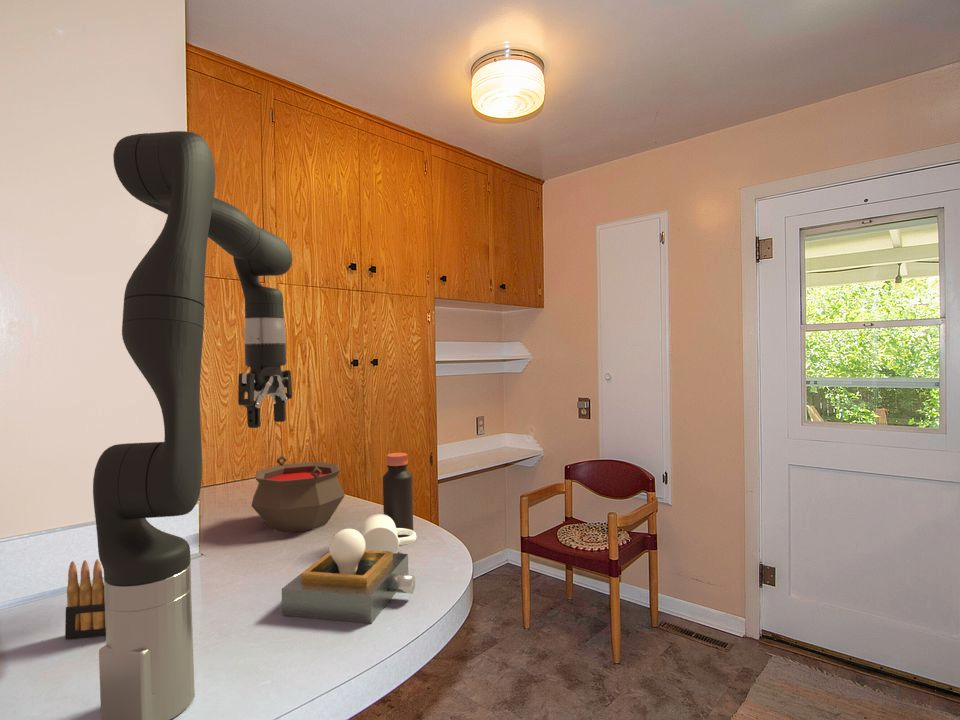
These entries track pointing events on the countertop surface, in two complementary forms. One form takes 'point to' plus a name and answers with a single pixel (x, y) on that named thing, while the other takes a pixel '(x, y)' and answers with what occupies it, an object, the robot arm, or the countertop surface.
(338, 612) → the grey shallow box
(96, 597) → the ammunition clip
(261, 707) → the countertop surface
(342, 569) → the lightbulb
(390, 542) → the mug
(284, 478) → the brown cauldron
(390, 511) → the bottle
